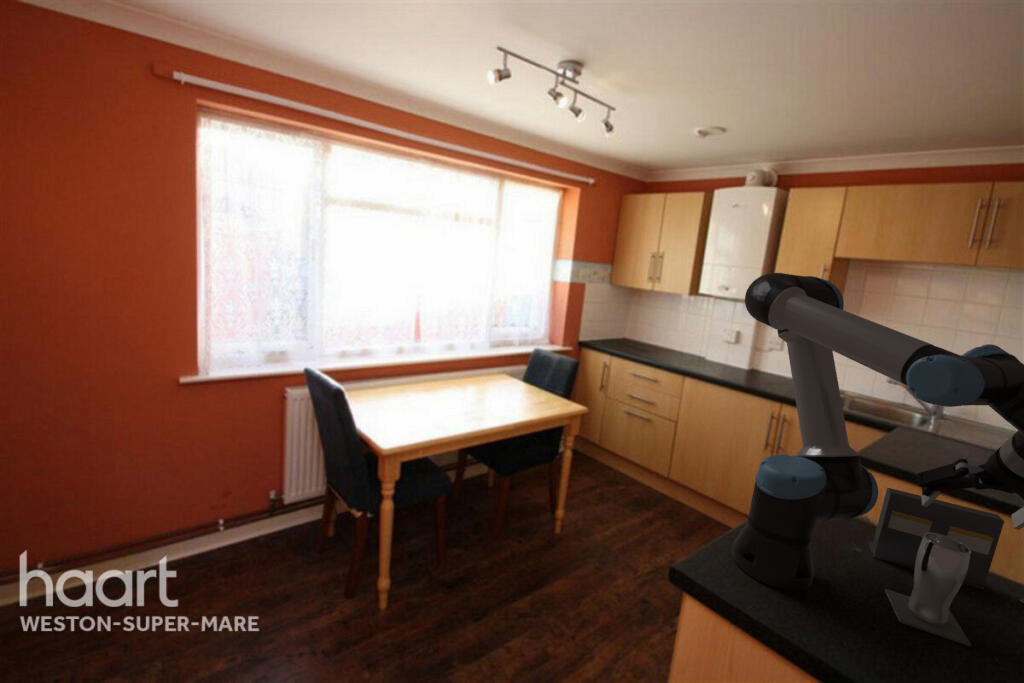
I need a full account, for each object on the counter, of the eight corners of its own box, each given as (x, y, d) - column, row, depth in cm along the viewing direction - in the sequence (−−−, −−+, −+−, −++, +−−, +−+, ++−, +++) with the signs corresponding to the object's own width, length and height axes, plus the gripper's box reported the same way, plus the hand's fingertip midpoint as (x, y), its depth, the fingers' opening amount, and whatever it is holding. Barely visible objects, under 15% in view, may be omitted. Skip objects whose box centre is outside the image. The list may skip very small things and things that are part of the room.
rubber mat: (899, 622, 86) (900, 620, 86) (884, 591, 95) (885, 588, 95) (970, 646, 82) (971, 644, 82) (948, 611, 91) (948, 609, 91)
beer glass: (895, 597, 93) (914, 528, 90) (936, 607, 91) (957, 537, 88) (914, 622, 86) (936, 548, 83) (960, 633, 84) (983, 558, 82)
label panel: (874, 558, 107) (891, 493, 104) (868, 545, 112) (884, 483, 109) (984, 591, 99) (1005, 521, 96) (971, 575, 104) (991, 509, 101)
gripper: (932, 461, 80) (889, 508, 95) (1149, 508, 69) (1061, 552, 84) (929, 424, 84) (888, 475, 99) (1134, 463, 73) (1052, 513, 88)
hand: (967, 511), depth 92 cm, fingers open, 13 cm apart
